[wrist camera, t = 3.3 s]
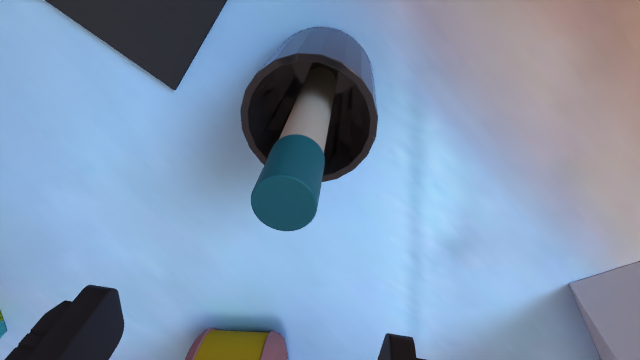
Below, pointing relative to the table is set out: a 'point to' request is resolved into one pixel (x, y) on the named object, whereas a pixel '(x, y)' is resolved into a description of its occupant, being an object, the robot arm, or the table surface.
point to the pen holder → (286, 82)
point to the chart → (2, 326)
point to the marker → (297, 158)
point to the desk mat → (149, 30)
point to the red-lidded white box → (612, 311)
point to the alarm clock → (238, 346)
